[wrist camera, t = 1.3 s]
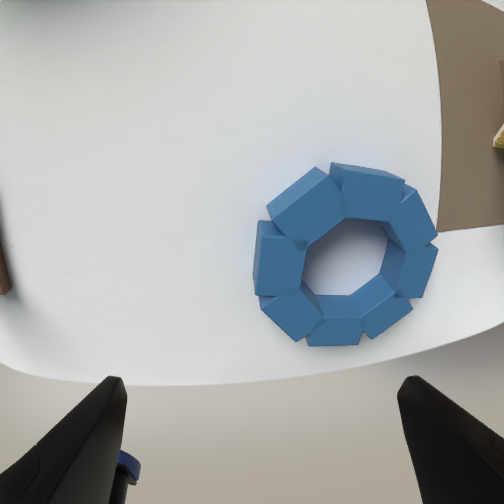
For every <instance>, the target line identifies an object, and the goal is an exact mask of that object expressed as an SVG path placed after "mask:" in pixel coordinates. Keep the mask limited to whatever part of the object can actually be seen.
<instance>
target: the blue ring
mask: <svg viewBox="0 0 504 504" xmlns="http://www.w3.org/2000/svg"><path fill="white" fill-rule="evenodd" d="M404 183H405V180H404V179H402V178H400V177H397V176H395V175H393V174H390V173H388V172H386V171H382V170H376V169H371V168H365V167H359V166H353V165H346V164H340V163H333V162H332V163H331V167H330V173H329V175H327V174H326V173H324V172H323V171H321V170H320V169H318V168H316V167H314V168H313V169H312V170H310V171H309V172H308V173H307V174H305V175H304V176H303V177H302V178H300V179H299V180H298V181H297V182H295V183H294V184H293V185H291V186H290V187H289V188H288V189H286V190H285V191H284V192H283V193H281V194H280V195H279V196H278V197H276V198H275V199H274V200H273V201H271V202H270V203H269V204H268V205H267V209H268V212H269V214H270V217H271V220H272V221H263V220H259V221H258V227H257V237H256V247H255V257H254V267H253V280H254V288H255V295H257V296H259V302H260V309H261V310H262V311H263V312H264V313H265V314H266V315H267V316H268V317H269V318H270V319H271V320H272V321H274V322H275V323H276V324H277V325H278V326H279V327H280V328H281V329H282V330H283V331H284V332H285V333H286V334H287V335H289V336H290V337H291V338H292V339H293V340H294V341H295V342H297V341H299V340H300V339H302V338H304V337H305V336H306V339H307V343H308V346H342V345H358V344H359V341H360V338H361V336H362V333H363V331H364V332H365V333H366V334H367V336H368V337H369V338H370V339H371V340H372V339H374V338H375V337H376V336H378V335H379V334H381V333H382V332H383V331H385V330H386V329H388V328H389V327H390V326H392V325H393V324H394V323H396V322H397V321H398V320H400V319H401V318H402V317H404V316H405V315H406V314H408V313H409V312H410V311H411V310H413V308H412V306H411V304H410V302H409V300H408V299H407V298H422V296H423V293H424V291H425V288H426V285H427V282H428V280H429V277H430V274H431V271H432V268H433V265H434V262H435V259H436V256H437V253H438V248H437V247H435V246H434V245H433V244H431V243H430V242H431V241H432V240H433V239H434V238H435V237H437V235H438V234H437V232H436V230H435V227H434V225H433V223H432V221H431V218H430V216H429V214H428V212H427V210H426V208H425V206H424V204H423V202H422V200H421V198H420V196H419V194H418V192H417V190H416V189H414V188H412V187H410V186H408V185H406V184H404ZM345 218H356V219H366V220H375V221H379V222H380V224H381V225H382V227H383V229H384V230H385V232H386V234H387V235H388V237H389V241H388V245H387V248H386V252H385V256H384V259H383V263H382V267H381V270H380V273H379V274H378V275H377V276H375V277H374V278H373V279H372V280H370V281H369V282H368V283H366V284H365V285H364V286H362V287H361V288H360V289H358V290H357V291H356V292H354V293H353V294H352V295H350V296H340V295H315V294H314V293H313V292H312V291H311V290H310V288H309V287H308V286H307V285H306V284H305V283H304V282H303V281H302V276H303V270H304V265H305V259H306V253H307V248H308V247H309V246H310V245H312V244H313V243H314V242H316V241H317V240H318V239H319V238H321V237H322V236H323V235H325V234H326V233H327V232H329V231H330V230H331V229H332V228H334V227H335V226H336V225H338V224H339V223H340V222H341V221H343V220H344V219H345Z"/></svg>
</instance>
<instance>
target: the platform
mask: <svg viewBox="0 0 504 504" xmlns="http://www.w3.org/2000/svg"><path fill="white" fill-rule="evenodd" d="M426 2H427V6H428V11H429V15H430V20H431V25H432V31H433V36H434V42H435V49H436V56H437V64H438V73H439V83H440V95H441V113H442V171H441V189H440V202H439V212H438V222H437V230H436V232H441V231H449V230H457V229H466V228H474V227H482V226H490V225H499V224H504V12H503V11H501V10H499V9H497V8H495V7H493V6H491V5H490V4H487V3H485V2H483V1H481V0H426Z"/></svg>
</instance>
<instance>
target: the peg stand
mask: <svg viewBox="0 0 504 504" xmlns="http://www.w3.org/2000/svg"><path fill="white" fill-rule="evenodd" d="M11 288H12V287H11V283H10V280H9V276H8V272H7V269H6V265H5V261H4V257H3V252H2V248H1V243H0V295H5V294H6V293H7V292H8V291H9V290H10V289H11Z"/></svg>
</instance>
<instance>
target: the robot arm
mask: <svg viewBox="0 0 504 504" xmlns="http://www.w3.org/2000/svg"><path fill="white" fill-rule="evenodd" d="M397 400H398V405H399V409H400V414H401V419H402V425H403V430H404V434H405V438H406V441H407V445H408V448H409V452H410V455H411V459H412V463H413V466H414V470H415V474H416V477H417V481H418V485H419V489H420V493H421V498H422V502H423V504H504V438H502V437H501V436H499V435H498V434H497V433H495V432H494V431H493V430H491V429H490V428H488V427H487V426H485V425H484V424H483V423H482V422H480V421H479V420H477V419H476V418H475V417H474V416H472V415H471V414H470V413H468V412H467V411H465V410H464V409H463V408H461V407H460V406H459V405H457V404H456V403H454V402H453V401H452V400H451V399H449V398H448V397H447V396H445V395H444V394H442V393H441V392H440V391H439V390H437V389H436V388H435V387H433V386H432V385H430V384H429V383H428V382H426V381H425V380H424V379H422V378H421V377H420V376H417V375H415V376H410V377H407V378H406V379H405V381H404V382H403V384H402V386H401V388H400V389H399V391H398V394H397ZM126 404H127V393H126V390H125V387H124V383H123V380H122V379H121V378H120V377H115V376H108V377H106V378H105V379H104V380H103V381H102V382H101V383H100V384H99V385H98V386H97V387H96V388H95V389H94V390H93V391H91V392H90V393H89V394H88V395H87V396H86V397H85V398H84V399H83V400H82V401H81V402H80V403H79V404H78V405H77V406H75V407H74V408H73V409H72V410H71V411H70V412H69V413H68V414H67V415H66V416H65V417H64V418H63V419H62V420H61V421H60V422H59V423H58V424H57V425H55V426H54V427H53V428H52V429H51V430H50V431H49V432H48V433H47V434H46V435H45V436H44V437H43V438H42V439H41V440H40V441H39V442H38V443H37V444H36V445H37V446H36V445H34V446H33V447H32V448H31V449H30V450H29V451H28V452H27V453H26V454H25V455H24V456H23V457H22V458H20V459H19V460H18V461H17V462H16V463H14V464H13V465H12V466H10V467H9V468H8V469H7V470H5V471H4V472H3V473H1V474H0V504H125V499H126V493H127V487H128V484H130V485H136V483H137V482H136V481H135V479H134V477H133V476H132V474H131V473H130V471H129V469H128V468H127V466H126V465H123V464H119V463H117V461H118V456H119V452H120V447H121V443H122V436H123V428H124V420H125V412H126Z"/></svg>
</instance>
